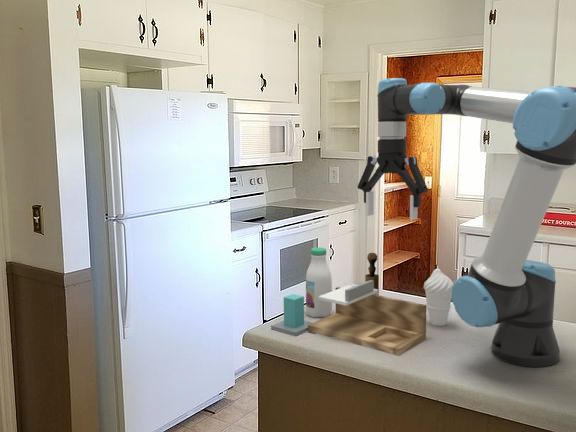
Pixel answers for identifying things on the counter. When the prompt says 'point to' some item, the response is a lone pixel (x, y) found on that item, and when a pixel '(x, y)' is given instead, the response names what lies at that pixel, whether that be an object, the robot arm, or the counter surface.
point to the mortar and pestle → (372, 271)
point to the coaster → (291, 328)
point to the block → (294, 310)
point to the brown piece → (376, 324)
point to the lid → (350, 293)
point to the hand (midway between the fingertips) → (391, 217)
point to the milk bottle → (318, 284)
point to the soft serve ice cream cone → (438, 297)
